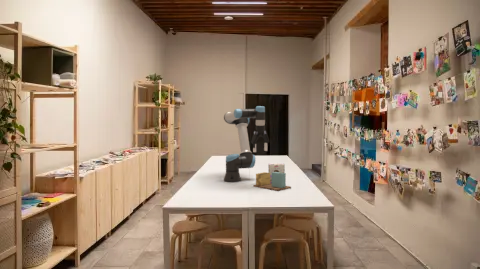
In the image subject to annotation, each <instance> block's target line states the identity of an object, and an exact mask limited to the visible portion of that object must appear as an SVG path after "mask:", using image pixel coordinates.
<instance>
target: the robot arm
mask: <svg viewBox="0 0 480 269" xmlns="http://www.w3.org/2000/svg"><path fill="white" fill-rule="evenodd" d="M250 119H255V130H254V131H253V135H252V137H251V141H249V134H248V128H247V127H248V126H249V124H250ZM223 120H224V122H225V123H227V124H228V125H235V127H236V129H237V133H238V140H239V141H238V142H239V147H240V148H239V149H240V153H233V154H228V155H226V157H225V174H224V177H223V181H224V182H227V183H238V182H242V177H241V174H240V170H241V169H252V168H254V166H256V165H255V164H256V156H255V154H253V153H257V141H258V140H259V138H262V140H263V141H264V143H263V144H264V145H263V146H264V148H263V151H265V152H268V146H269V143H270V142H271V141H270V138H269V135H268V131H267V130H266V125H265V124H266V107H265V106H263V105H262V106H261V105H257V106H256V107H255V108H235V109H234V111H228V112H226V113H224V115H223ZM250 143H251V144H252V151H251V148H250Z"/></svg>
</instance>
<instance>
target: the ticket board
mask: <svg viewBox="0 0 480 269" xmlns="http://www.w3.org/2000/svg"><path fill="white" fill-rule="evenodd" d="M253 187H255V188H260V189H265V190H271V191H276V192H280V191H285V190H289V189H292V186H289V185H286V187H283V188H279V187H273V186H272V183H270V173H269V172H258V173H255V184H253Z"/></svg>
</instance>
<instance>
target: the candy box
mask: <svg viewBox="0 0 480 269" xmlns="http://www.w3.org/2000/svg"><path fill="white" fill-rule="evenodd" d="M272 172H281V173H286V171H285V163H268V173H270V183H272Z"/></svg>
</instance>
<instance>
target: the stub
mask: <svg viewBox="0 0 480 269" xmlns="http://www.w3.org/2000/svg"><path fill="white" fill-rule="evenodd" d="M286 175H287V174H286V172H285V173H281V172H272V186H273V187H279V188H283V187H286V186H287V185H286V182H287V181H286Z"/></svg>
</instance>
